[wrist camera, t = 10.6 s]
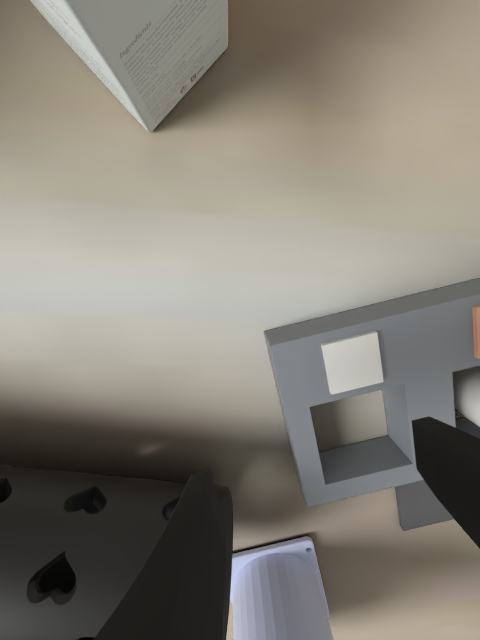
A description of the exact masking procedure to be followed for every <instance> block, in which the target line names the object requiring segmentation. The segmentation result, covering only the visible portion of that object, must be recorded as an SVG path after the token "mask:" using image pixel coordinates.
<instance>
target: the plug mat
mask: <svg viewBox="0 0 480 640" xmlns="http://www.w3.org/2000/svg"><path fill="white" fill-rule="evenodd" d="M395 490H396V497H397V505H398V513H399V520H400V526H401V527H402V529H403V531H405V530H410V529H414V528H418V527H422V526H426V525H431V524H435V523H439V522H443V521H447V520H452V519H454V518H453V517H452V516H451V514H450V513H449V512H448V511H447V510H446V509H445V507H444V506H443V505H442V504H441V503H440V501H439V500H438V499H437V498H436V496H435V495H434V494H433V492H432V491H431V489H430V488H429V486H428V485H427V484H426V482H425V481H424V480H421V481H417V482H412V483H408V484H404V485H400V486H396V487H395Z"/></svg>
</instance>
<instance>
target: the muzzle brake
mask: <svg viewBox="0 0 480 640" xmlns="http://www.w3.org/2000/svg"><path fill="white" fill-rule="evenodd" d="M186 484H187V483H175V482H171V481H162V480H152V479H142V478H132V477H113V476H106V475H95V474H91V473H81V472H71V471H61V470H51V469H32V468H24V467H16V466H11V465H0V640H93V639H94V638H95V636H96V635H97V634H98V632H99V631H100V630H101V628H102V627H103V626H104V624H105V623H106V621H107V620H108V619H109V617H110V616H111V614H112V613H113V612H114V610H115V609H116V607H117V606H118V604H119V603H120V601H121V600H122V598H123V597H124V595H125V594H126V592H127V591H128V589H129V588H130V586H131V585H132V583H133V581H134V580H135V578H136V577H137V575H138V573H139V572H140V570H141V569H142V567H143V565H144V564H145V562H146V560H147V558H148V557H149V555H150V553H151V552H152V550H153V548H154V546H155V545H156V543H157V541H158V539H159V538H160V536H161V534H162V532H163V530H164V528H165V526H166V524H167V523H168V521H169V519H170V517H171V515H172V513H173V511H174V509H175V507H176V505H177V503H178V501H179V499H180V497H181V495H182V493H183V491H184V489H185V487H186ZM215 489H216V492H217V495H218V498H219V501H220V505H221V508H222V511H223V514H224V524H225V542H226V560H225V585H224V608H223V631H222V640H226V633H227V624H228V614H229V602H230V590H231V574H232V551H233V509H232V497H231V492H230V490H229V488H228V487H223V486H215Z"/></svg>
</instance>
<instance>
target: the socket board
mask: <svg viewBox="0 0 480 640" xmlns="http://www.w3.org/2000/svg"><path fill="white" fill-rule="evenodd" d="M264 335H265V339H266V343H267V348H268V352H269V356H270V360H271V365H272V369H273V373H274V378H275V382H276V386H277V391H278V395H279V399H280V404H281V408H282V412H283V416H284V421H285V425H286V429H287V434H288V438H289V442H290V447H291V451H292V455H293V460H294V464H295V468H296V472H297V476H298V479H299V482H300V486H301V489H302V492H303V495H304V498H305V501H306V505H307V508H308V507H312V506H316V505H321V504H325V503H329V502H333V501H337V500H341V499H346V498H350V497H354V496H358V495H362V494H366V493H371V492H375V491H379V490H383V489H387V488H392V487H396V486H400V485H404V484H408V483H412V482H417V481H421V480H424V479H423V478H422V476H421V475H420V473H419V472H418V470H417V468H416V458H415V449H414V439H413V430H412V420H416V419H420V418H424V417H428V416H429V417H432V418H434V419H437V420H439V421H442V422H444V423H446V424H448V425H451V426H453V427H455V428H457V429H460V430H462V431H464V432H466V433H469V434H471V435H473V436H475V437H477V438H480V427H479V426H477V425H476V424H475V423H473V422H472V421H470V420H469V419H467V418H466V417H462V418H458V419H455V407H454V391H453V375H452V372H455V371H459V370H463V369H467V368H471V367H475V366H480V278H477V279H473V280H469V281H465V282H461V283H457V284H453V285H449V286H445V287H441V288H437V289H433V290H429V291H425V292H421V293H417V294H413V295H409V296H405V297H401V298H397V299H393V300H388V301H384V302H380V303H376V304H372V305H368V306H364V307H360V308H356V309H352V310H348V311H344V312H340V313H336V314H332V315H328V316H324V317H320V318H316V319H312V320H308V321H304V322H300V323H296V324H291V325H287V326H283V327H279V328H275V329H271V330H267V331H264ZM381 389H382V390H383V398H384V406H385V413H386V421H387V428H388V436H384V437H380V438H375V439H371V440H367V441H363V442H359V443H355V444H351V445H346V446H342V447H338V448H334V449H330V450H326V451H322V452H318V447H317V442H316V437H315V432H314V427H313V422H312V417H311V412H310V408H309V407H311V406H316V405H320V404H324V403H328V402H332V401H336V400H340V399H344V398H348V397H352V396H357V395H361V394H365V393H369V392H373V391H377V390H381Z"/></svg>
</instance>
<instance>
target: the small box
mask: <svg viewBox="0 0 480 640" xmlns="http://www.w3.org/2000/svg"><path fill="white" fill-rule="evenodd" d="M30 1H31V2H32V4H33V5H34V6H35V7H36V9H37V10H38V11H39V12H40V13H41V14H42V16H43V17H44V18H45V19H46V20H47V21H48V22H49V24H50V25H51V26H52V27H53V28H54V29H55V30H56V31H57V32H58V34H59V35H60V36H61V37H62V38H63V39H64V40H65V41H66V43H67V44H68V45H69V46H70V47H71V48H72V49H73V50H74V51H75V53H76V54H77V55H78V56H79V57H80V58H81V59H82V60H83V61H84V62H85V64H86V65H87V66H88V67H89V68H90V69H91V70H92V71H93V72H94V73H95V75H96V76H97V77H98V78H99V79H100V80H101V81H102V82H103V83H104V85H105V86H106V87H107V88H108V89H109V90H110V91H111V92H112V93H113V94H114V96H115V97H116V98H117V99H118V100H119V101H120V102H121V103H122V104H123V105H124V107H125V108H126V109H127V110H128V111H129V112H130V113H131V114H132V115H133V116H134V117H135V118H136V119H137V121H138V122H139V123H140V124H141V125H142V126H143V127H144V128H145V129H146V130H147V131H148V132H152V131H153V130H154V129H155V128H156V127H157V125H158V124H159V123H160V122H161V121H162V120H163V119H164V118H165V117H166V116H167V114H168V113H169V112H170V111H171V110H172V109H173V108H174V107H175V105H176V104H177V103H178V102H179V101H180V100H181V99H182V98H183V97H184V95H185V94H186V93H187V92H188V91H189V90H190V89H191V88H192V87H193V85H194V84H195V83H196V82H197V81H198V80H199V79H200V78H201V77H202V75H203V74H204V73H205V72H206V71H207V70H208V69H209V67H210V66H211V65H212V64H213V63H214V62H215V61H216V60H217V59H218V58H219V56H220V55H221V54H222V53H223V52H224V51H225V50H226V49H227V47H228V0H30Z"/></svg>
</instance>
